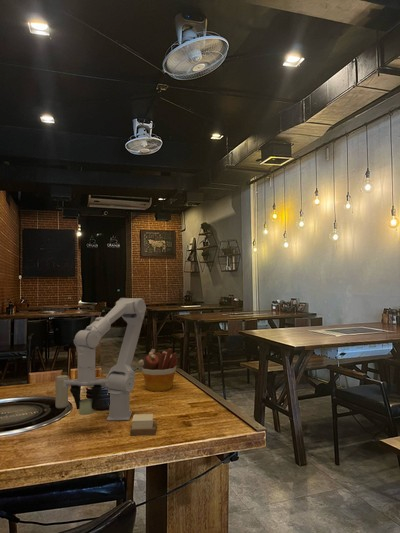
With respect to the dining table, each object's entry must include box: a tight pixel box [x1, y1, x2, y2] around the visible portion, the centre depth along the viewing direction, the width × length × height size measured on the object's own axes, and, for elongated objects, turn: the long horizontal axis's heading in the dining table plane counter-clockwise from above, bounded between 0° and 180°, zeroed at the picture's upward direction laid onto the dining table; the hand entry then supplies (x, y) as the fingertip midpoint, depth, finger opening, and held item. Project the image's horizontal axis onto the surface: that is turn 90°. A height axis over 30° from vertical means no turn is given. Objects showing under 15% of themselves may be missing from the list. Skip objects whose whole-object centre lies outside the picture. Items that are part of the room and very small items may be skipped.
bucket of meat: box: [138, 347, 179, 393], centre depth 186 cm, size 20×16×20 cm
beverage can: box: [54, 374, 69, 409], centre depth 158 cm, size 5×5×12 cm
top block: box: [131, 413, 154, 429], centre depth 130 cm, size 6×6×2 cm
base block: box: [129, 420, 158, 437], centre depth 130 cm, size 8×8×2 cm
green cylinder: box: [78, 398, 94, 416], centre depth 130 cm, size 4×4×4 cm
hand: (86, 408), depth 130 cm, fingers closed on green cylinder, 4 cm apart
